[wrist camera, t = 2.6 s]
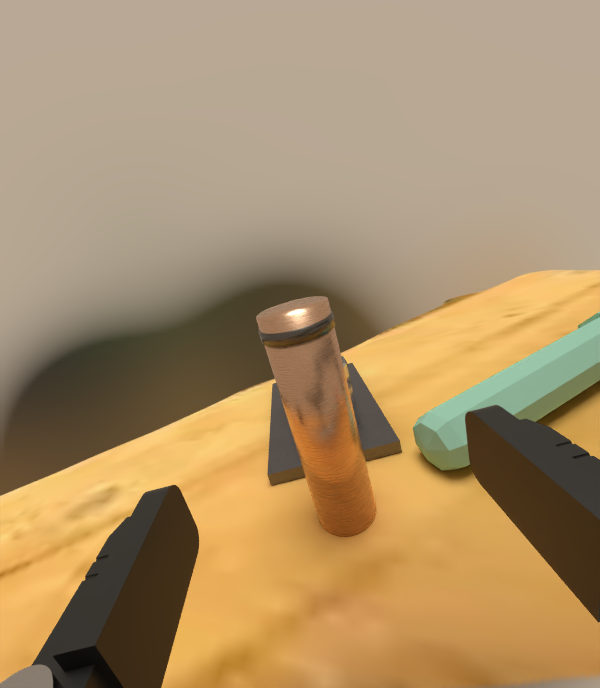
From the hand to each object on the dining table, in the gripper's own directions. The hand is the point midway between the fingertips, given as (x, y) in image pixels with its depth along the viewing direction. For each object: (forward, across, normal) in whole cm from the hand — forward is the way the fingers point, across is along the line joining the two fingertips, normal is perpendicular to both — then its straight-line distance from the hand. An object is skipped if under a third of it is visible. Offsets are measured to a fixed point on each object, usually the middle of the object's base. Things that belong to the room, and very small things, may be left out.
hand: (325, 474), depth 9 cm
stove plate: (+26, 0, +13) cm, 29 cm away
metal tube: (+12, 0, +13) cm, 18 cm away
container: (+18, -19, +14) cm, 29 cm away
